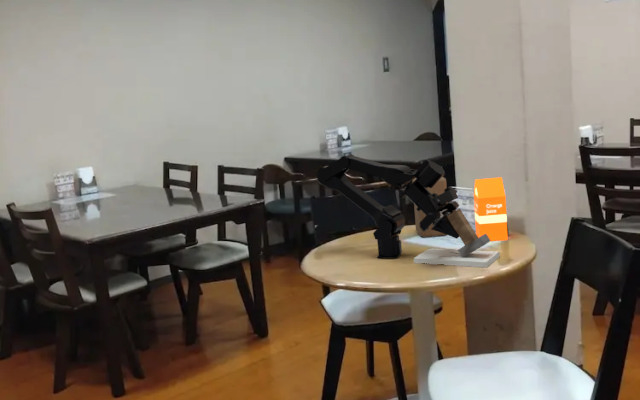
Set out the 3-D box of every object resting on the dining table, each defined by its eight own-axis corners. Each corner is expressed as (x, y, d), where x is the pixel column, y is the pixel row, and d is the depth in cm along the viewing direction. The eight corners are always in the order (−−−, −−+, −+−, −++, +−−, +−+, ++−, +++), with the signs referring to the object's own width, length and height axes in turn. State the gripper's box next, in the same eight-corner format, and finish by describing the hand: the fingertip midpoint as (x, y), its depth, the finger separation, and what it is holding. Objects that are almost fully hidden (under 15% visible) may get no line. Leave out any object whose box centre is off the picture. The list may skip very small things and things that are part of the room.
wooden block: (415, 232, 239) (411, 177, 236) (443, 229, 240) (439, 174, 236) (421, 238, 229) (417, 180, 226) (450, 235, 230) (446, 177, 227)
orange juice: (475, 237, 224) (472, 178, 221) (502, 234, 223) (499, 175, 220) (480, 242, 216) (477, 181, 213) (508, 240, 216) (505, 178, 212)
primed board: (414, 263, 199) (413, 257, 198) (429, 252, 209) (429, 248, 208) (486, 267, 187) (486, 262, 187) (499, 256, 197) (499, 251, 197)
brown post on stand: (462, 257, 194) (439, 220, 196) (468, 253, 198) (445, 217, 200) (484, 244, 190) (461, 207, 191) (490, 240, 194) (467, 204, 195)
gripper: (427, 184, 188) (467, 224, 184) (451, 174, 204) (488, 211, 200) (403, 211, 194) (441, 250, 190) (428, 199, 209) (464, 235, 205)
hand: (460, 236), depth 196 cm, fingers closed on brown post on stand, 3 cm apart
